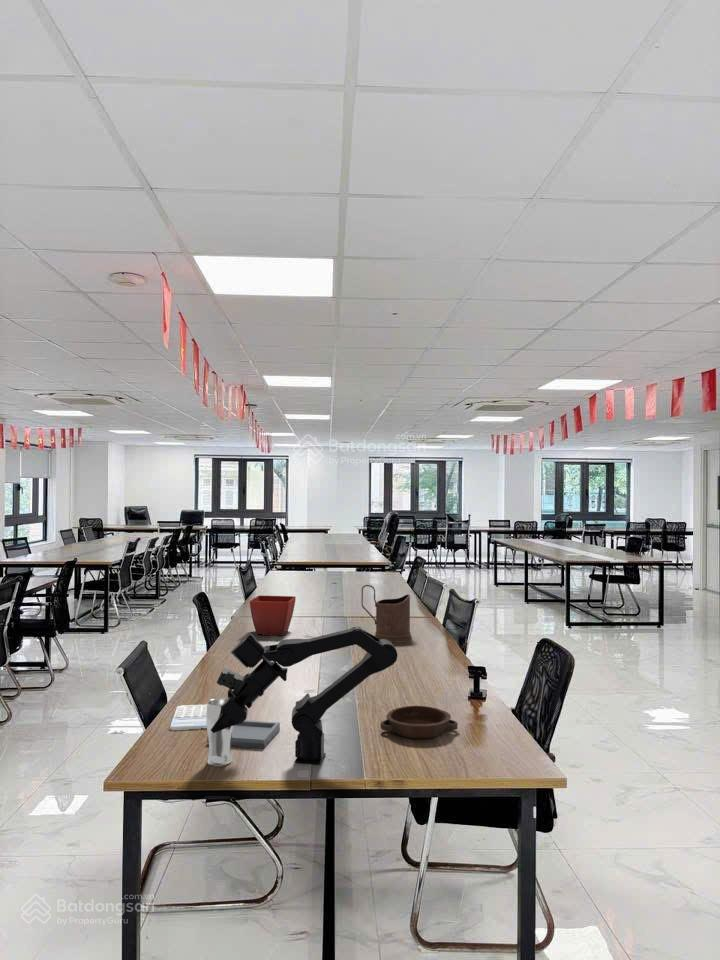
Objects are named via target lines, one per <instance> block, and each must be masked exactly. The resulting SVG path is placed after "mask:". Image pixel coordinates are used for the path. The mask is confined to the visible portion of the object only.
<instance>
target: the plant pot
mask: <svg viewBox="0 0 720 960" xmlns="http://www.w3.org/2000/svg"><path fill="white" fill-rule="evenodd" d="M296 600H297V598H296V596H291V595H289V596H288V595H287V596H286V595H257V596H255V597H254V598H252V599H249V608H250V615H251V618H252V619H251V620H252V624H253V626H254V630H255V633H256V635H257V634H265V635H264V636H274V635H283V634H284V633H285V634H286V633H287V632H288V631H289V629H290V625H291V623H292V622H291V621H292V619H293V616H294V611H295V606H296ZM285 634H284V635H285ZM284 635H283V636H284Z"/></svg>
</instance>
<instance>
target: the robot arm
mask: <svg viewBox="0 0 720 960" xmlns="http://www.w3.org/2000/svg"><path fill="white" fill-rule="evenodd" d="M355 645H356V646H358V647H360V648H361V649H362V650H364V651H365V652H366V653H365V654H364V656H363V657H362V659H361V660H360V661H359V662H358V663H356V664H354V666H352V667H351V668H350V669H348V670H347V671H346V672H345V673H344V674H343V675H341V676H340V677H339V678H338V679H336V680H335V681H333V682H332V683H331V684H330V685H328V686H327V687H326V688H325V689H324V690H322V691H320V692H319V693H318V694H317V695H314V696H310V693H309V692H307V693H306V694H305V695H304V696H303V697H302V698H301V699H300V700H297V701H295V705H294V706H293V708H292V711H291V726H292V728H293V729H294V731H296V732H298V734H297V739H296V740H295V741H294V743H295V747H294V749H295V750H294V751H295V753H294V756H295V757H294V758H295V763H299V764H300V763H301V764H313V765H320V764H321V763H322V762H323V761H324V759H325V757H326V756H327V755H326V754H327V753H326V752H325V733H324V731H323V723H322V720H321V719H322V717H323V716H324V715H325V714H326V711H328V710H329V709H330V708H331V707H332V706H333V705H335V704H336V703H337V702H338V701H340V700H341V699H342V698H343V697H345V696H346V695H347V694H348V693H350V692H351V691H352V690H353V689H355V688H356V687H357V686H359V685H360V684H361V683H362V682H364V681H365V680H366V679H368V678H369V677H370V676H372V675H375V674H376V673H379V672H382V671H384V670H386V669H388V668H390V667H392V666H393V665H394V664H395V663H396V662H397V661H398V650H397V649H396V647H395V645H394V644H393V643H392V642H390V641H389V640H386V639H379V638H377V637H375V634H374V635H373V634H371V633H369V632H368V631H366V630H364V629H363V628H362V627H361V626H353V627H351V628H348V629H344V630H340V631H339V630H338V631H336V632H331V633H328V634H324V635H320V636H316V637H311V638H288V639H282V640H281V641H279V642H277V644H271V645H269V644H268V645H265V646H263V645H262V644H261V642H259V641H258V640H257V638H256V636H255V635H254V634H252V633H249V634H248V635H247V636H246V637H244V638H243V639H241V640H240V641H239V642H238V643H237V644H236V645H235V647H234V648H233V649H232V650H231V651H230V653H231V654H232V655H233V657H235V658H236V659H237V660H238V661H239V662H240V664H242V665H243V667H244V668H246V669H247V668H252V669H253V668H254V669H253V670H252V671H251V672H248V673H246V674H245V675H244V676H243V675H241V674H240V673H238V672H236V671H233V670H231V669H228V668H227V667H223V668H222V670H221V672H220V674H219V676H218V678H217V681H216V684H217V685H219V686H223V687H225V688H227V689H228V691H227V698H228V699H227V700H226V701H225V702H224V703H223V706H222V714H221V716H220V717H219V719H218V720H217V721H216V723H215V724H214V726H213V727H212V729H211V731H212V732H213V733H215V732H218V731H220V730H223V729H225V728H228V727H231V726H234V725H236V724H242V723H243V722H244V721H245V720H246V721H247V718H248V715H249V714H248V710H249V709H250V708H251V707H252V706H253V704H254V703H255V701H256V700H257V699H258V698H260V697H262V696H264V694H265V691H266V690H267V689H269V687H270V686H271V685H272V684H273V683H274V682H275V681H276V680H277V679H279V678H280V679H282V681H284V682H286V681H287V680H288V679H287V676H288V667H292V666H293V665H296V664H298V663H300V662H303V661H305V660H306V659H307V658H310V657H312V656H314V655H315V656H316V655H319V654H323V653H327V652H332V651H335V650H338V649H343V648H346V647H351V646H355Z"/></svg>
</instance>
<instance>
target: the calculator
mask: <svg viewBox="0 0 720 960" xmlns="http://www.w3.org/2000/svg"><path fill="white" fill-rule="evenodd" d="M206 711H207V703H206V704H187V705H183V704H182V705H178V706H176V709H175V712H174V714H173V716H172V717H173V718H172V720H171V724H170V726H169V727H170V728H169V730H170V731H190V730H189V729H195V730H202V729H201V728H207V727H206Z"/></svg>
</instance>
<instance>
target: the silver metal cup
mask: <svg viewBox="0 0 720 960" xmlns="http://www.w3.org/2000/svg"><path fill="white" fill-rule="evenodd" d="M227 699H228V697H218V698H212V699H209V700H208V701H207V702H206V704H207V711H206V727H207V729H206V733H207V736H208V740H209V744H208V746H209V748H208V756H207V762H206V763H207V764H208V765H209V764H210V765H209V766H211V765H214V766H213V767H223V766H222V765H225V764H228V765H230V764H231V763H232V762H233V757H232V750H231V749H232V748H231V747H232V746H231V739H232V733H233V727H234V726H231V727H228V728H225V729H223V730H220V731H218V732H215V733H213V732H212V731H211V729H212V727H213V726H214V724H215V723H216V721H217V720H218V719H219V717H220V716H221V714H222V706H223V703H224V702H225V701H226V700H227ZM231 761H232V762H231ZM230 762H231V763H230ZM229 763H230V764H229ZM225 766H226V765H225Z"/></svg>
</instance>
